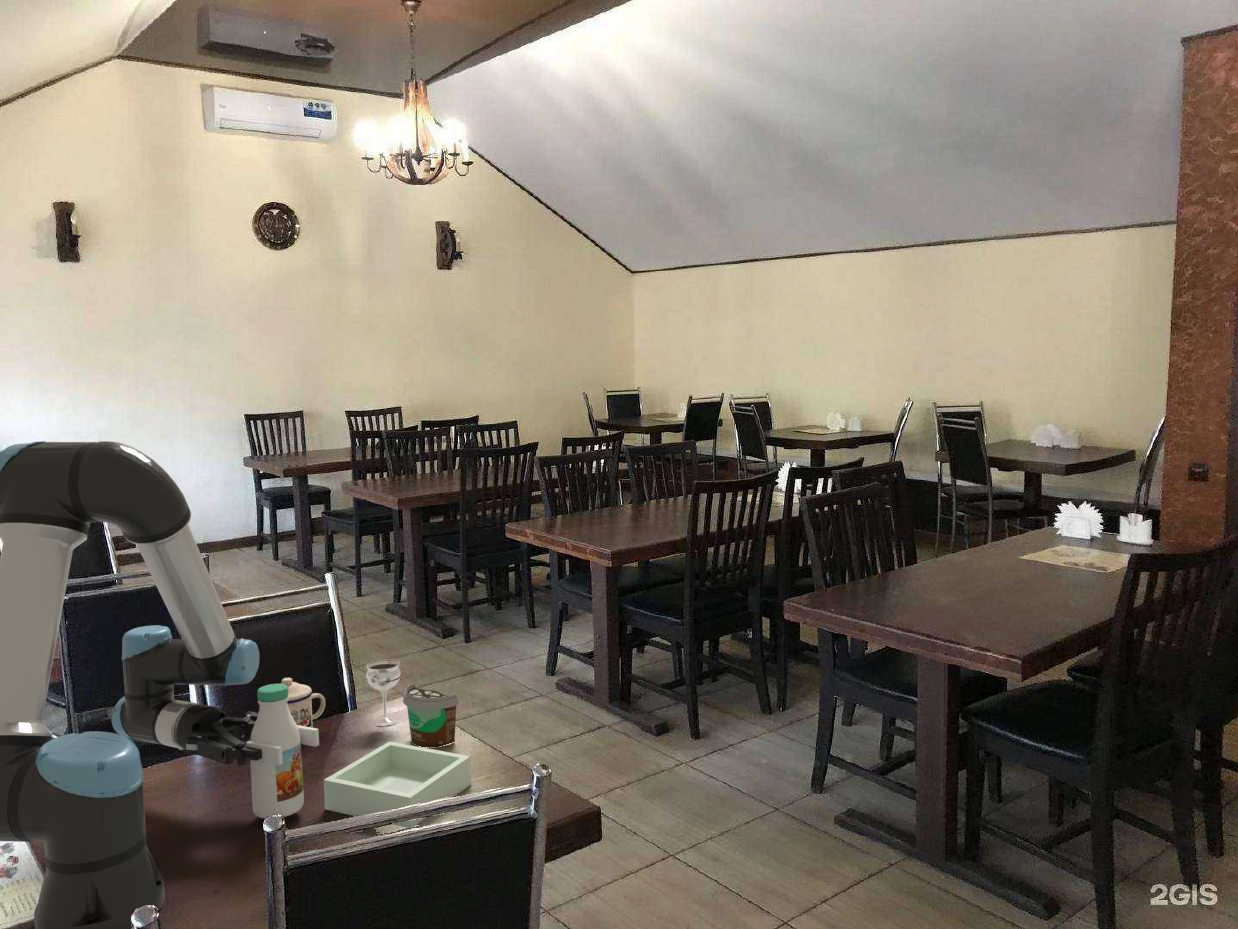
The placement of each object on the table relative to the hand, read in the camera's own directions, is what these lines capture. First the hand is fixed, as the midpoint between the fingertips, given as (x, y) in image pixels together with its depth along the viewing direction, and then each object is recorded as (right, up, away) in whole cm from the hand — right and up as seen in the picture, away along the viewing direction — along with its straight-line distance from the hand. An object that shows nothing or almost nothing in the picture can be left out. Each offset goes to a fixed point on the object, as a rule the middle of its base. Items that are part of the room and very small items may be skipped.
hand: (299, 746), depth 150 cm
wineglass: (+3, -8, +44) cm, 44 cm away
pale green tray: (+14, -11, +10) cm, 20 cm away
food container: (+13, -9, +32) cm, 36 cm away
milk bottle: (-4, -11, +3) cm, 12 cm away
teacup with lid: (-13, -9, +37) cm, 41 cm away
